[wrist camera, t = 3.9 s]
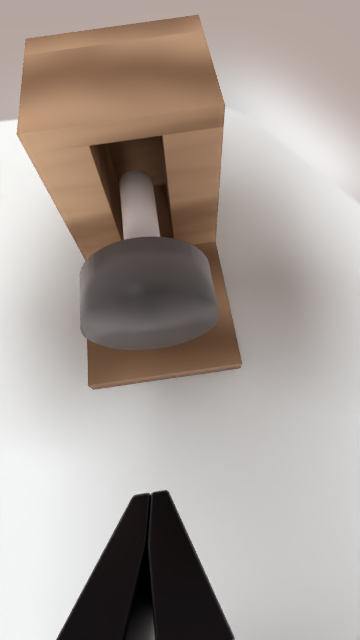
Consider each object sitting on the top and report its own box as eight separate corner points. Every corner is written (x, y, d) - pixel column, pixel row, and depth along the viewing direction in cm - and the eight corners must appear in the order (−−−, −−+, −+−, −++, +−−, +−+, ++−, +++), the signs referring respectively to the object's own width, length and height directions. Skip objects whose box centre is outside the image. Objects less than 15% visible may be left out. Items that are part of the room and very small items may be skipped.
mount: (240, 368, 20) (275, 279, 11) (93, 389, 20) (-1, 319, 11) (198, 176, 27) (198, 14, 17) (87, 191, 27) (25, 38, 17)
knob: (216, 340, 18) (223, 281, 12) (102, 356, 18) (57, 305, 12) (192, 213, 21) (189, 124, 16) (96, 227, 21) (60, 142, 16)
